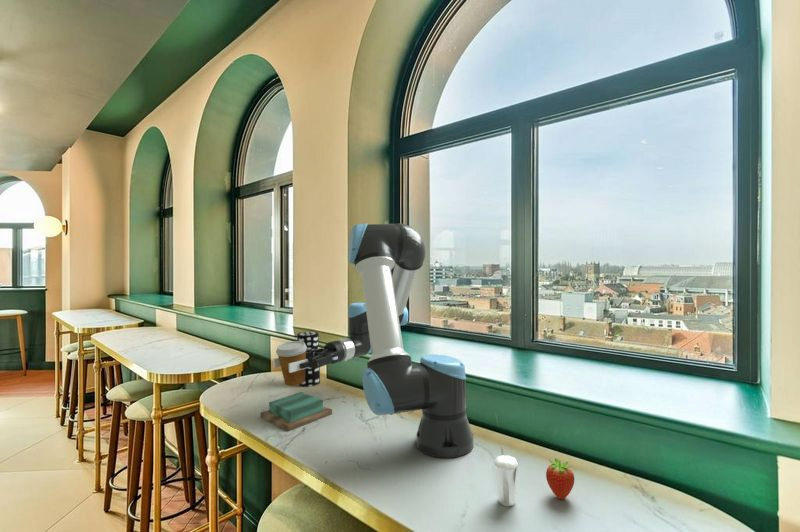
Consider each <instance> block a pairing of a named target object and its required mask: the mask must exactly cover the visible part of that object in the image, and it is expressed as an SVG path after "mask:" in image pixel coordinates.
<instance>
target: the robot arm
mask: <svg viewBox="0 0 800 532" xmlns="http://www.w3.org/2000/svg"><path fill="white" fill-rule="evenodd" d="M349 234H350V235H349V240H348V253H347V255H348V256H347V258H348V260H347V261H348V264H351V265H354V266H355V267H354V268H355V271H356V272H357V273H358V274H360V275H361V279H362V280H361V281H362V288H363V296H364V297H363V299H364V302H353V303H350V304H349V305H348V307H347V308H348V313H347V318H348V337H346V338H345V337H344V338H340V339H337V340H332V341H328V342H327V343H326V344H325V345H324V347H319V349H316V350H315V348H312V349H308V350H306V359H304V360H301V361H297V362H293V363H289V373H292V372H295V371H299V370H302V369H306V368H308V367H309V368H313V367H314V368H319V367H320V368H321V367H324V366H327V365H329V364H331V365H334V364H337V363H341V362H347V361H348V360H351V359H354V358H358V357H361V356H366V355H369V354H371V356H370V357H369V359H368V360H367V361H366V365H367V367H366V368H365V369H363V370H362V373H361V378H362V387H363V392H364V393H363V394H364V396H365V400H366V402H367V405H368V407H369V409H370V410H371V412H372V413H373V414H375V415H377V416H384V415H391V416H392V415H394V414H400V413H401V414H402V413H407V412H414V411H421V412H422V413H421V418H420V422H419V425H418V428H417V431H416V435H415V436H416V438H415V439H416V440H415V443H416V444H415V445H416V447H417V449H419V451H421V452H422V453H424V454H426V455H428V456H430V457H431V456H432V457H436V458H443V459H444V458H446V459H448V458H457V457H462V456H465V455H466V454H468V453H470V452H472V450H473V449H474V445H475V443H474V434H473V432H472V429H471V426H470V422H469V419H468V416H467V389H466V388H467V385H466V383H467V381H466V380H467V376H466V368H465V367H466V366H465V364H464V362H463V361H461V359H459V358H456V357H453V356H449V355H445V354H444V355H443V354H433V353H432V354H431V353H430V354H424V355H422V356H420V359H419V361H420V362H418V363H413V362H412V357H411V355H410V354H409V353H408V352H406V350H405V349H404V343H403V337H402V332H401V331H402V330H401V326H405V325H407V324H408V321H409V310H408V308H407V306H406V305H407V303H408V300H409V296H410V294H411V291H412V287H413V285H414V281H415V279H416V276H417V273H418V270H420V269H421V268H422V267H423V266H424V265H423V264H424V262H425V258H426V246H425V243H424V240H423V239H422V236H421V235H420V233H419V232H418V231H417V230H416V229H415V228H413V227H412V226H410V225H408V224H405V223H368V222H367V223H366V222H365V223H363V224H362V223H360V224H354V225H353V226H352V227H351V229H350V233H349ZM392 270H393V271H392ZM313 356H314V357H313ZM308 360H309V361H308ZM272 364H273V367H272V368H274V369H275V368H278V367H280V368H281V365H280V361H279V357H276V358H273V359H272ZM318 364H319V365H318Z"/></svg>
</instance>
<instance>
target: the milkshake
mask: <svg viewBox="0 0 800 532" xmlns="http://www.w3.org/2000/svg"><path fill="white" fill-rule="evenodd" d="M518 465H519V463H518V461H517V459H516V457H514V456H511V455H504V447H503V446H502V445H500V455H498V456H497V457H496V458H495V459H494V468H495V477H496V489H497V499H498V502H499V504H500V505H502V506H504V507H512V506H514V505H515V503H516V494H517V477H518V467H519V466H518Z"/></svg>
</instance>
